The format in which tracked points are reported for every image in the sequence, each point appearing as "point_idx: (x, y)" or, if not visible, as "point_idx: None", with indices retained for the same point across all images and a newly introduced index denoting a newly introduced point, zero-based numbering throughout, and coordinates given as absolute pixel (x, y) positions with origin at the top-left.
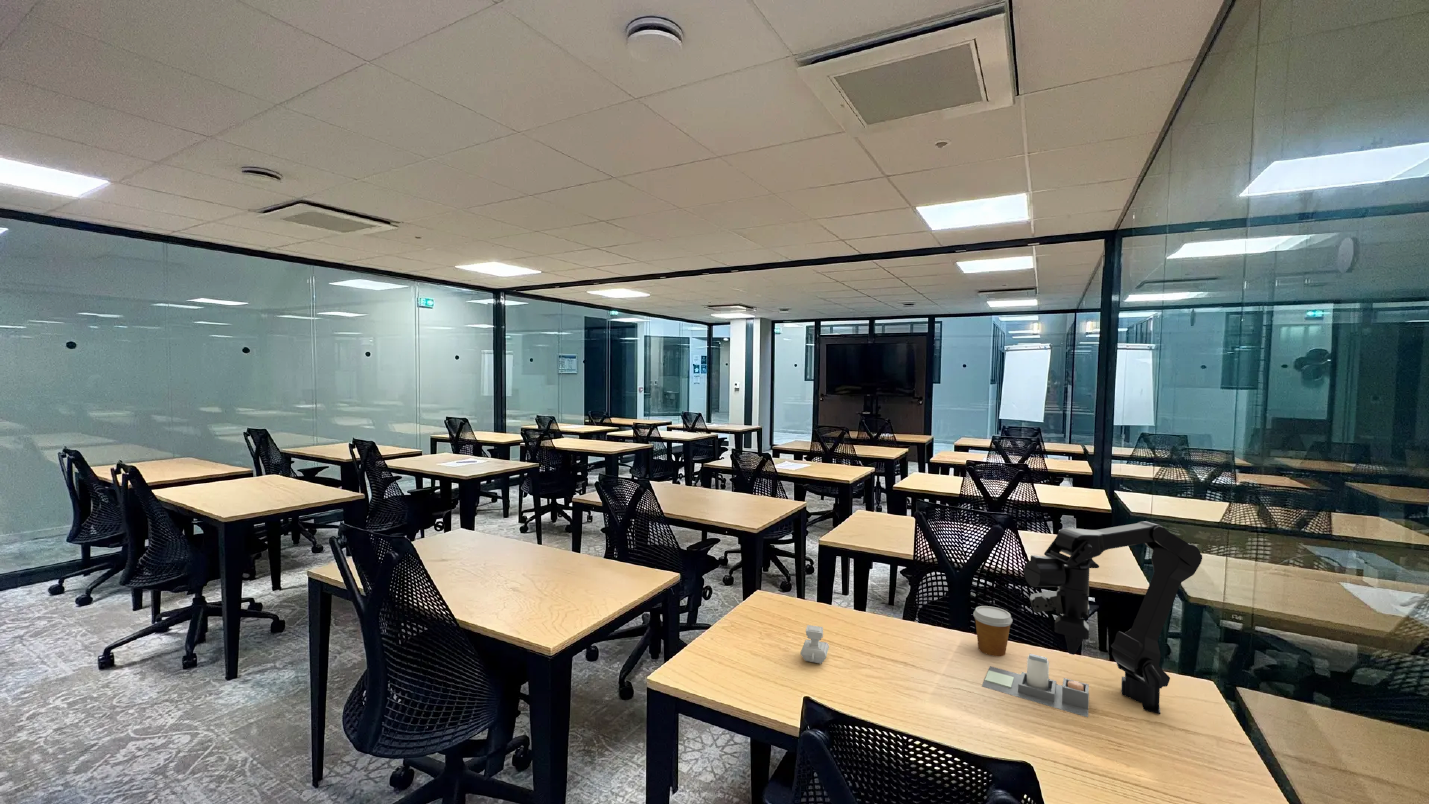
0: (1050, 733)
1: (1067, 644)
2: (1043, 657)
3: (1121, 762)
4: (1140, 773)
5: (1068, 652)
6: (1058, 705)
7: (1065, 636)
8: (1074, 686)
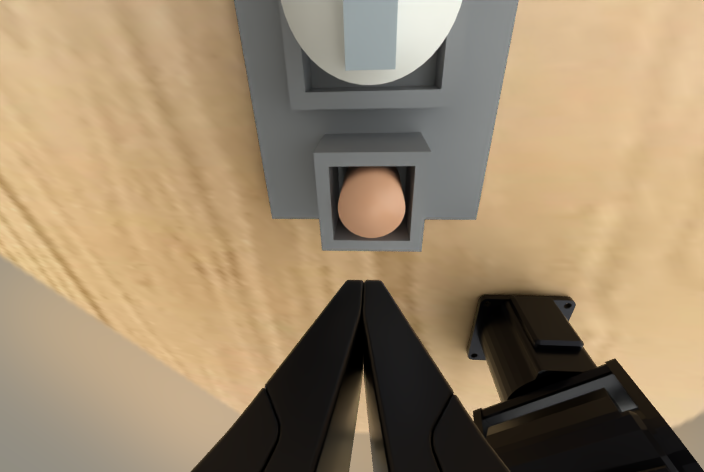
0: (111, 104)
1: (299, 347)
2: (380, 33)
3: (146, 273)
4: (138, 301)
5: (344, 283)
6: (283, 123)
7: (208, 459)
8: (340, 205)
